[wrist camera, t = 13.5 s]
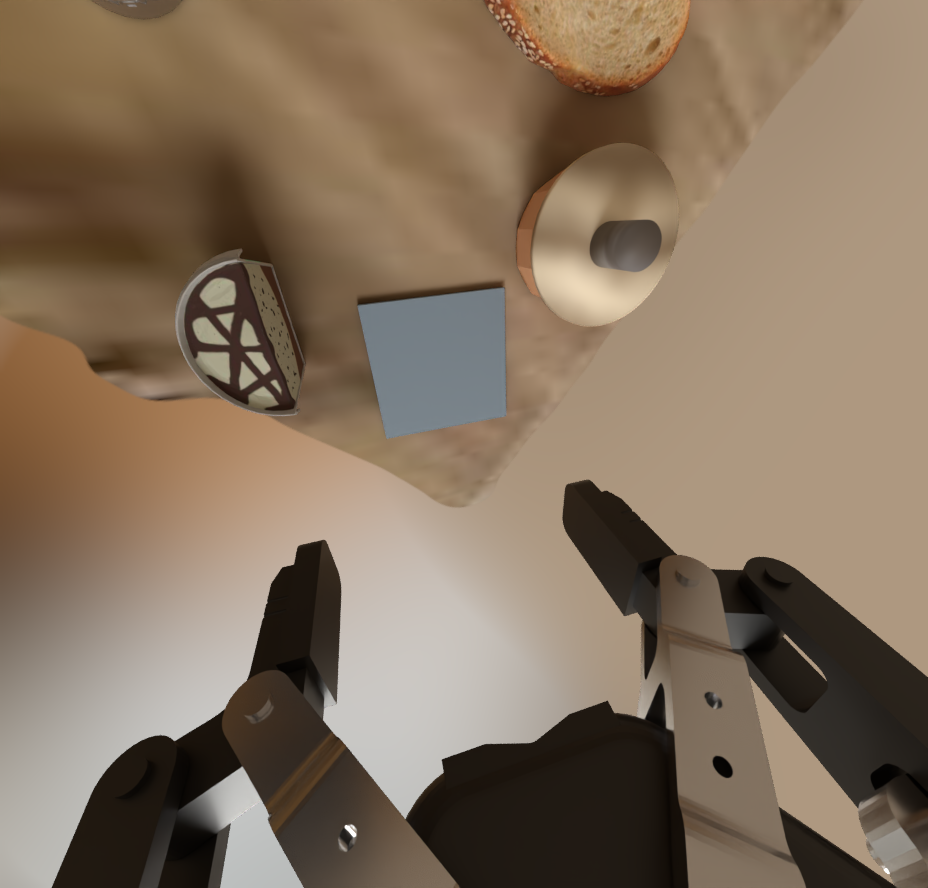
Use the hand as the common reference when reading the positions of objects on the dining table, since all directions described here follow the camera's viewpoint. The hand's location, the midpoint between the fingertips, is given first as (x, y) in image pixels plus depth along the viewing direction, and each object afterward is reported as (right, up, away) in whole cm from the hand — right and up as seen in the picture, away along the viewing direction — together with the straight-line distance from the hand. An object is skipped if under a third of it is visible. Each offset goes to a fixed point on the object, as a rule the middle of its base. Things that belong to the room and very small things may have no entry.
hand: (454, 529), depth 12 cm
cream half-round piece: (-19, +14, +22) cm, 33 cm away
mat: (-2, +12, +29) cm, 31 cm away
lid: (+13, +21, +21) cm, 32 cm away
